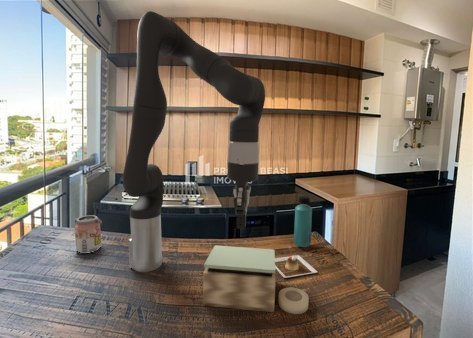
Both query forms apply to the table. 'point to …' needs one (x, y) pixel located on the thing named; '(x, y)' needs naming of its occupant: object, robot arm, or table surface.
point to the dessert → (294, 265)
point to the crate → (239, 289)
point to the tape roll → (293, 300)
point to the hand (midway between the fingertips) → (241, 227)
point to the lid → (241, 259)
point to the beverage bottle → (303, 223)
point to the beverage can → (88, 233)
